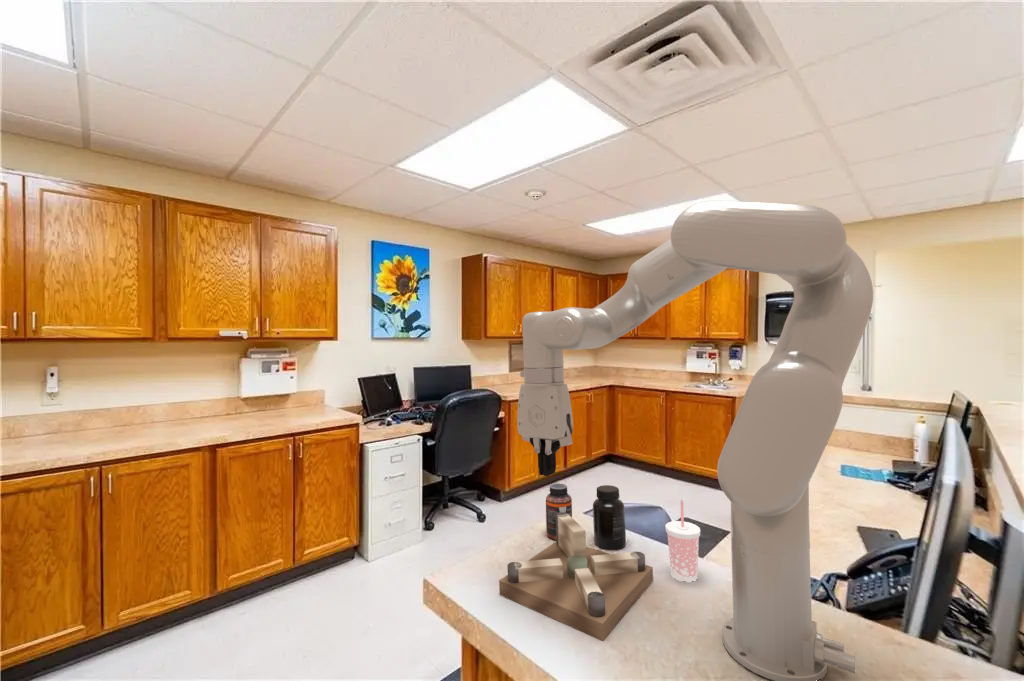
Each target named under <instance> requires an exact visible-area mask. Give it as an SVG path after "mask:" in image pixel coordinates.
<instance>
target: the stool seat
mask: <svg viewBox="0 0 1024 681" xmlns="http://www.w3.org/2000/svg"><path fill="white" fill-rule="evenodd" d="M653 568H654V567H653V566H650V565H647V564H646V555H645V554H644V553H643V552H641V551H630V552H618V553H617V552H616V553H608V552H605V551H601V550H600V549H599V550H598V549H595V548H593V547H592V548H591V547H589V546H586V558H585V557H583V556H579V555H574V556H570V557H568V556H567V555H566V554H565V553H564V552H563V550H562V549H561V548H560V547H559V546H558V545H557V540H556V541H554V542H553V543H552V544H550V545H549V546H547V547H546V548H544V549H543V550H541V551H540V552H538V553H537V554H536V555H534V556H532V557H531V558H530V559H528V560H523V561H512V562H509V563H508V564H507V568H506V569H507V575H505V576H503V577H502V578H501V579H499V580H498V583H499V584H498V585H499V586H498V587H499V588H498V589H499V592H498V593H499V596H502V597H504V598H506V599H509V600H511V601H513V602H515V603H517V604H519V605H522V606H524V607H526V608H528V609H531V610H533V611H535V612H538V613H539V614H542V615H545V617H546V616H547V617H549V618H551V619H553V620H556V621H558V622H560V623H561V624H564V625H567V626H569V627H571V628H574V629H576V630H578V631H579V632H583V633H585V634H587V635H589V636H591V637H594V638H596V639H599V640H600V641H604V640H606V638H607V637H608V635H609V634H611V632H612V631H613V629H614V628H615V627H616V626H617V625H618V624H619V622H620V621H621V620H622V619H623V617H625V615H626V614H627V612H628V611H629V610H630V609H631V608H632V607H633V605H634V604H635V603H636V602H637V601H638V600H639V599H640V597H641V596H642V595H643V594H644V592H645V591H646V590H647V589H648V587H650V585H651V583H652V582H654V569H653ZM652 584H653V583H652Z"/></svg>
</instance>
